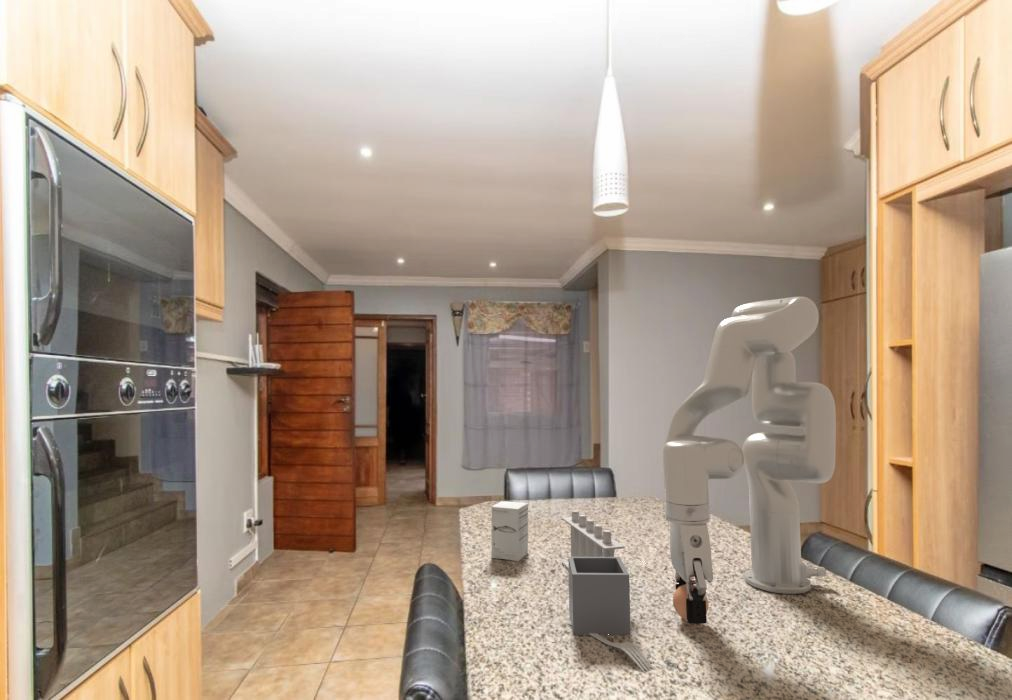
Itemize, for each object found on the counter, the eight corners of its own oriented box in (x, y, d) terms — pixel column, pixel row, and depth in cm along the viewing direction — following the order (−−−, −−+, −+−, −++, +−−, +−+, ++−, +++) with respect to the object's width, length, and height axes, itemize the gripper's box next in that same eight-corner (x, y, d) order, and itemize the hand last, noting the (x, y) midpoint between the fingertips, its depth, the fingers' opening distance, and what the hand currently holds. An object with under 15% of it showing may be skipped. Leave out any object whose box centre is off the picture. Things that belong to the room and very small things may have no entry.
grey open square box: (621, 611, 100) (619, 556, 101) (630, 635, 91) (629, 574, 91) (569, 611, 101) (568, 556, 101) (573, 634, 91) (572, 574, 92)
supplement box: (490, 558, 131) (490, 506, 132) (502, 550, 138) (501, 500, 139) (518, 562, 129) (518, 508, 130) (529, 553, 136) (528, 502, 136)
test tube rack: (626, 604, 104) (625, 534, 105) (605, 607, 103) (603, 536, 104) (579, 563, 128) (578, 506, 129) (561, 565, 127) (561, 508, 128)
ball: (702, 612, 98) (701, 578, 98) (714, 627, 92) (712, 591, 92) (669, 612, 98) (668, 579, 99) (678, 627, 92) (677, 591, 93)
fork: (575, 633, 97) (574, 617, 98) (659, 673, 80) (657, 652, 80) (563, 637, 96) (561, 620, 96) (645, 678, 78) (643, 657, 79)
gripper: (725, 523, 87) (730, 637, 86) (693, 500, 105) (697, 594, 104) (678, 524, 88) (683, 637, 87) (654, 500, 105) (657, 595, 104)
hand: (690, 613), depth 95 cm, fingers closed on ball, 5 cm apart
